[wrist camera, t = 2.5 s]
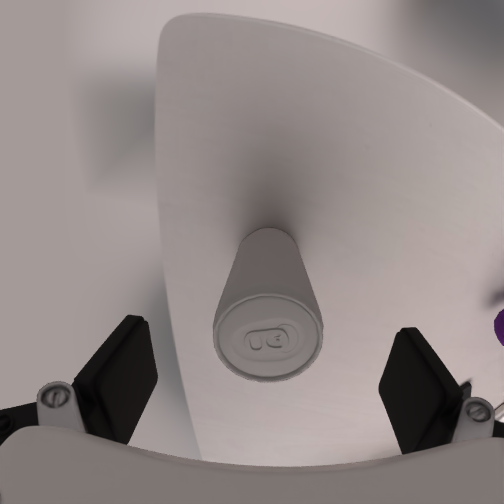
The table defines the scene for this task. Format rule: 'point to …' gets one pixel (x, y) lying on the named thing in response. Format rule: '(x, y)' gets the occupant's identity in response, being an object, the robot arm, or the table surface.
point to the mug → (499, 326)
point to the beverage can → (268, 311)
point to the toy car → (500, 414)
